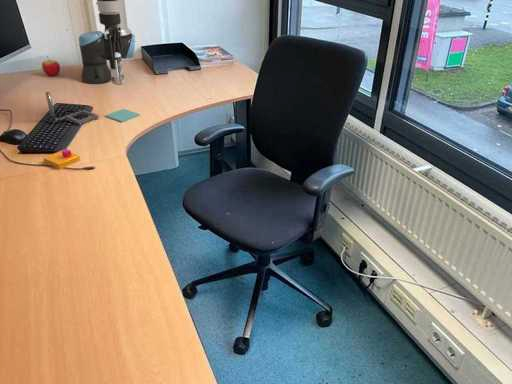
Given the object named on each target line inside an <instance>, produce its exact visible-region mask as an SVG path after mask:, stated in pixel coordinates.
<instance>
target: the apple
mask: <svg viewBox="0 0 512 384" xmlns="http://www.w3.org/2000/svg"><path fill="white" fill-rule="evenodd" d="M46 57H47V59H48V60H44V61H42V62H41V68H42V70H43V72H44V74H46V75H47V76H49V77H55V76H58V75H59V73H60V71H61V66H60V64H59V62H58V61H56V60H53V59H51V60H50V59H49V57H48V55H46Z"/></svg>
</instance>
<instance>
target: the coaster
mask: <svg viewBox="0 0 512 384" xmlns="http://www.w3.org/2000/svg"><path fill="white" fill-rule="evenodd" d="M139 116H140V117H141V114H140V113H138V112H134V111H132V110H129V109H127V108H126V109H125V108H122V109H119V110H115V111H113V112H111V113H107V114H105V115H104V117H105V118H108V119H111V120H113V121H117V122H120V123H124V122H127V121H129V120H132V119H134V118H137V117H139Z"/></svg>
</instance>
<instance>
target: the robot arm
mask: <svg viewBox="0 0 512 384" xmlns="http://www.w3.org/2000/svg"><path fill="white" fill-rule="evenodd" d="M125 3H126V2H125V0H96V2H95V5H96V6H97V10H98V13H99V14H98V18H99V24H101V25H104V32H103V31H99V30H94V31H93V30H92V31H87V32H84V33H81V34H80V35H79V36H78V43H79V44H78V45H79V49H80V54H81V55H80V56H81V62H82V68H81V69H82V70H81V76H80V77H81V81H82V82H83V83H84V84H90V85H99V84H100V85H101V84H106V83H109V82H108V81H110V80H111V81H112V77H119V75H118V67H117V60H115V52H118V53H120V55H121V59H122V60H127V59H129V60H130V59H133V58H134V57H135V51H136V50H135V46H136V43H135V42H136V41H135V40H136V38H135V37H136V35H135V34H132V30H131V29H130V28H129V27H128V21H127V20H128V19H127V12H126V11H127V10H126V4H125ZM107 62H108V63H109V65H108V63H107ZM111 81H110V82H111Z"/></svg>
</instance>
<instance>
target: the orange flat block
mask: <svg viewBox="0 0 512 384" xmlns="http://www.w3.org/2000/svg"><path fill="white" fill-rule="evenodd" d="M43 161H44V163H45V164H47V165H49V166H51V167H54V168H55V169H57V170H58V169H59V170H61V169H65V168H66V167H68V166H71V165H73V164H75V163H78V162H79V161H81V158H80V155H79V154H76V153H74V152H72V150H70V149H67V148H66V149H62V150H59V151H58V152H57V151H56V152H54V153H52V154H50V155H47V156H44V157H43Z"/></svg>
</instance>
